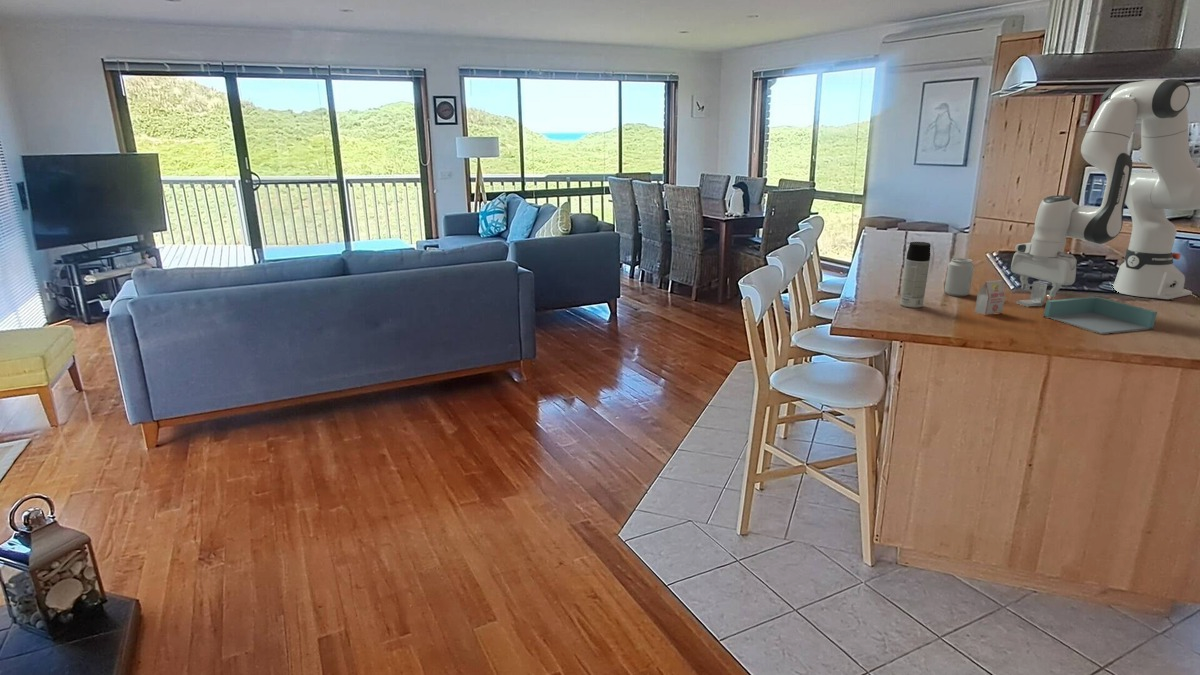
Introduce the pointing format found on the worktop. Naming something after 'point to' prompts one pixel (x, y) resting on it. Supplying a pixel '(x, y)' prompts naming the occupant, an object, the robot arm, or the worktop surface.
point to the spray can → (915, 275)
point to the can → (959, 277)
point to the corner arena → (1100, 315)
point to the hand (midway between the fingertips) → (1037, 292)
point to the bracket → (1035, 295)
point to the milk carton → (990, 298)
